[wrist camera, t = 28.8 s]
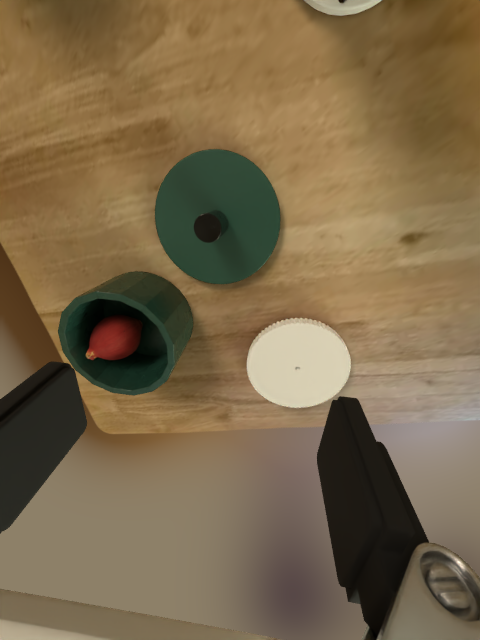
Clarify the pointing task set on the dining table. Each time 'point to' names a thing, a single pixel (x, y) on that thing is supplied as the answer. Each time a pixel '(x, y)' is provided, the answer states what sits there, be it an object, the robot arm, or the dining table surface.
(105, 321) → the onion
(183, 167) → the lid
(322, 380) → the plastic lid
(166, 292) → the pot
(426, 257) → the dining table surface
